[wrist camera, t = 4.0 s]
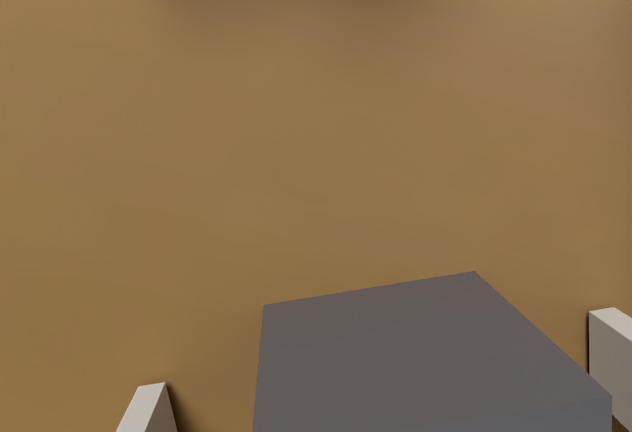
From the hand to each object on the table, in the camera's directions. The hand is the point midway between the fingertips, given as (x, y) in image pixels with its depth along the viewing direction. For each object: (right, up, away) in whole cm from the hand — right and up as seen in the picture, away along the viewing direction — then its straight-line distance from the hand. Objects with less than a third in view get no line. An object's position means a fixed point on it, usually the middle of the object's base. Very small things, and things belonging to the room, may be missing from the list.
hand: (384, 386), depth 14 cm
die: (0, 0, 0) cm, 0 cm away
